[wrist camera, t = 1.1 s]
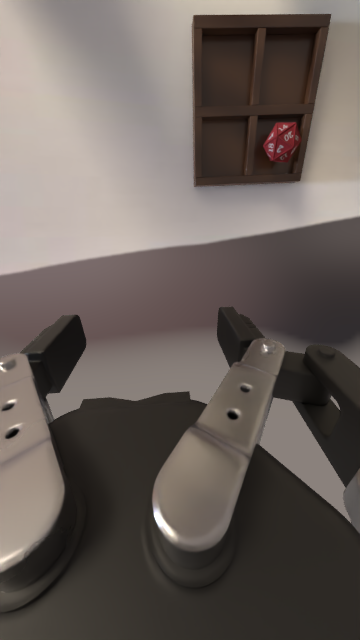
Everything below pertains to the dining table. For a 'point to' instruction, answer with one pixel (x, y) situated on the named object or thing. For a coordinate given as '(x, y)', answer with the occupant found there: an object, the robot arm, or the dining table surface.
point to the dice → (282, 142)
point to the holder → (252, 93)
